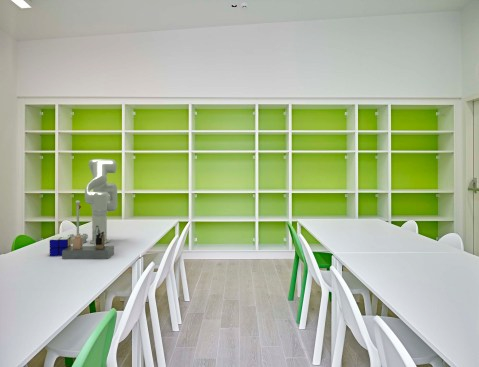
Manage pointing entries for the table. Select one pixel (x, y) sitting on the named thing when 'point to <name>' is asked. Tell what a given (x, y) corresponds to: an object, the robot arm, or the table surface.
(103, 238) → the walnut plug
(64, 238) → the puzzle cube
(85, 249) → the block
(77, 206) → the flag stand
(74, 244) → the terracotta plug
